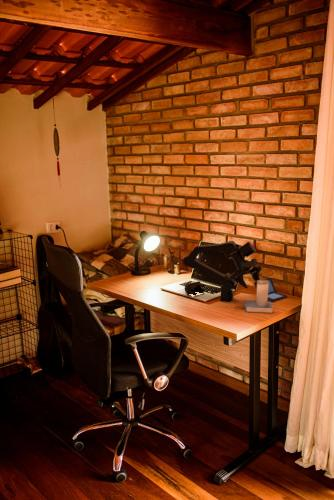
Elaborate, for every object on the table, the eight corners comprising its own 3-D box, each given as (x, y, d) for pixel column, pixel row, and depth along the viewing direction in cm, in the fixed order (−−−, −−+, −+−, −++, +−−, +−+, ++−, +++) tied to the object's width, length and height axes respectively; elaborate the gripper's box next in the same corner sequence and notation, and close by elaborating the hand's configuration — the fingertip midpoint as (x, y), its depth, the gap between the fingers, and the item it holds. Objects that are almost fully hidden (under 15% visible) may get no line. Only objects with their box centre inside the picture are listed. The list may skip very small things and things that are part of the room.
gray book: (245, 312, 245) (245, 306, 244) (243, 305, 255) (244, 300, 254) (272, 313, 243) (273, 307, 243) (270, 306, 253) (270, 301, 253)
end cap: (196, 291, 280) (196, 280, 278) (205, 293, 274) (205, 282, 273) (184, 294, 273) (184, 283, 272) (192, 297, 268) (193, 286, 266)
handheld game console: (270, 303, 260) (271, 287, 258) (252, 297, 270) (253, 281, 268) (288, 297, 269) (289, 282, 267) (269, 292, 279) (270, 277, 277)
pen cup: (258, 307, 243) (259, 283, 241) (253, 303, 249) (254, 279, 246) (269, 306, 245) (271, 282, 242) (264, 302, 251) (265, 279, 248)
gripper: (234, 257, 244) (248, 283, 238) (260, 251, 254) (274, 276, 248) (224, 267, 252) (237, 292, 247) (249, 261, 262) (262, 285, 257)
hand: (253, 286), depth 249 cm, fingers open, 9 cm apart
